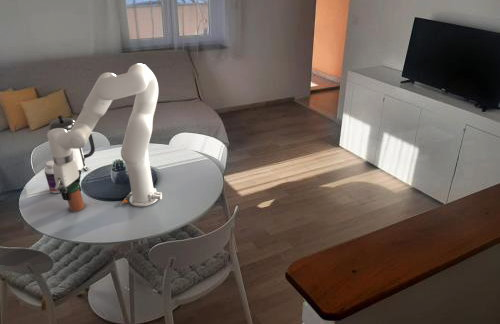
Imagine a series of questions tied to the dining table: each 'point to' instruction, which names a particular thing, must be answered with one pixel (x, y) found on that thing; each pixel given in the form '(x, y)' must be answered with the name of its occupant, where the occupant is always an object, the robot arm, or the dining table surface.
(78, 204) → the jar
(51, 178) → the pill bottle
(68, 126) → the coffee press
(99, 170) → the dining table surface
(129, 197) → the key chain
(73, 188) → the lid
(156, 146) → the dining table surface
